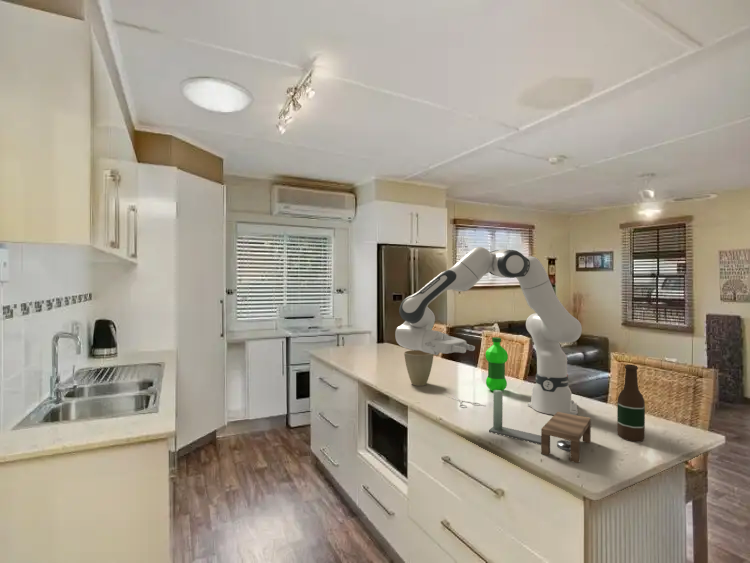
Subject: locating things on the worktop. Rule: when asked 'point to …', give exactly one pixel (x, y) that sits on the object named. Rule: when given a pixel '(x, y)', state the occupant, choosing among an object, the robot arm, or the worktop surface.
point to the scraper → (503, 430)
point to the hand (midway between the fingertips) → (469, 349)
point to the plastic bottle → (496, 366)
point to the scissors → (464, 401)
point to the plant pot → (418, 366)
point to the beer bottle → (631, 408)
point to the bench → (566, 432)
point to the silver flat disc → (564, 445)
